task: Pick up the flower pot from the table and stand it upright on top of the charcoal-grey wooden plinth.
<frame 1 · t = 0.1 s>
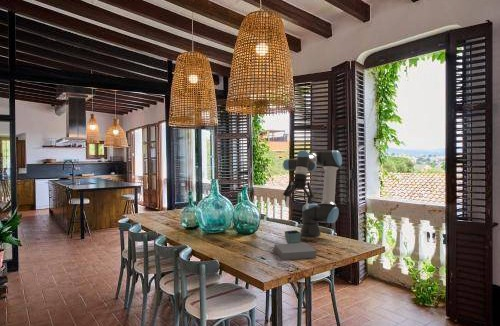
hand: (296, 207, 209), 28 cm above the table, tool tilted 20°, fingers open, 13 cm apart
flower pot: (292, 245, 227), on the table
plinth: (294, 254, 206), on the table
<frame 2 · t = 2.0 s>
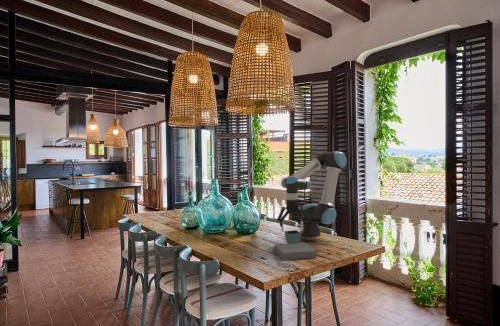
hand: (292, 231, 227), 10 cm above the table, tool pointing down, fingers open, 13 cm apart
nothing on the table moved.
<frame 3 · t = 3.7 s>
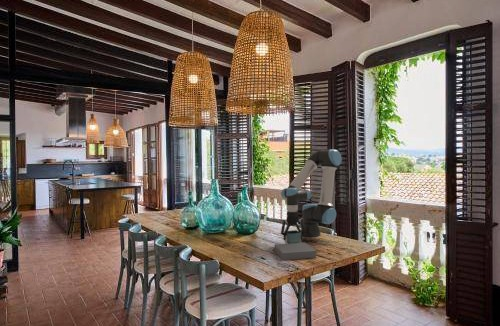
hand: (292, 244, 227), 0 cm above the table, tool pointing down, fingers closed on flower pot, 9 cm apart
flower pot: (292, 245, 227), on the table, touching gripper
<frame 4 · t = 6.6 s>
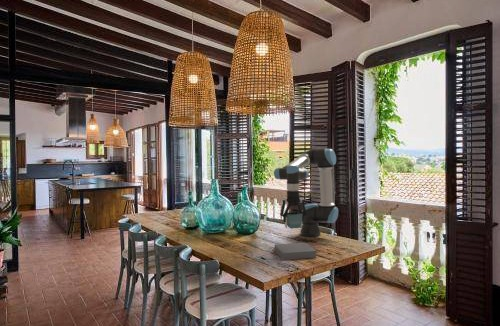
hand: (293, 227, 208), 16 cm above the table, tool pointing down, fingers closed on flower pot, 9 cm apart
flower pot: (293, 228, 208), point 15 cm above the table, touching gripper
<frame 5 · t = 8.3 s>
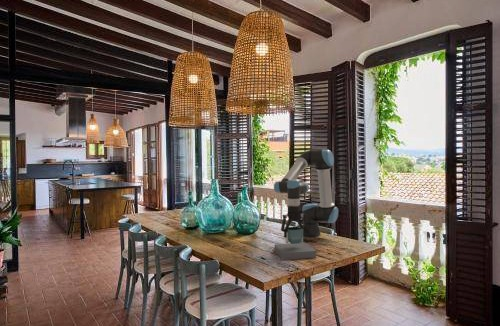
hand: (294, 242, 206), 7 cm above the table, tool pointing down, fingers closed on flower pot, 9 cm apart
flower pot: (294, 243, 206), point 7 cm above the table, touching gripper
when the fingers open (6 cm above the table, at t = 9.5 s): flower pot drops 1 cm, resting on plinth.
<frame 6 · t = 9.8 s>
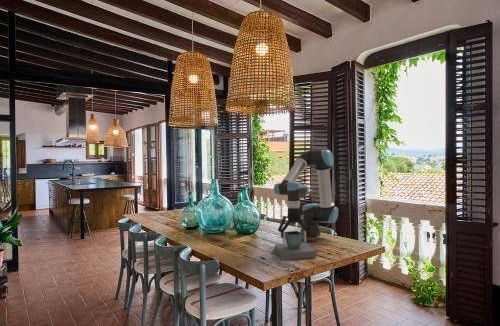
hand: (294, 242, 206), 7 cm above the table, tool pointing down, fingers open, 13 cm apart
flower pot: (293, 247, 206), point 4 cm above the table, touching plinth
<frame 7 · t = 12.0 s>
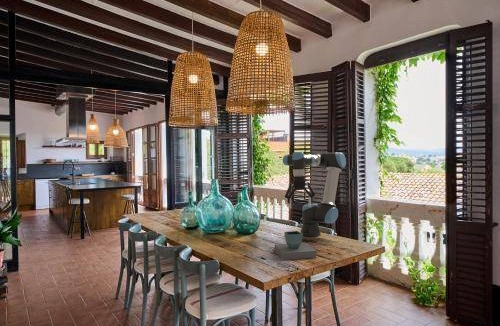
hand: (300, 207, 223), 26 cm above the table, tool pointing down, fingers open, 13 cm apart
nothing on the table moved.
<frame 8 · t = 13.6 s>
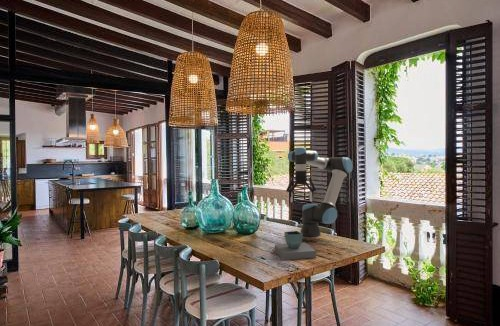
hand: (301, 201, 230), 29 cm above the table, tool pointing down, fingers open, 13 cm apart
nothing on the table moved.
at the end: flower pot inside the target area on the plinth (0.6 cm from its centre), point 3.8 cm above the plinth's base; flower pot tilted 0°; the gripper is holding nothing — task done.
